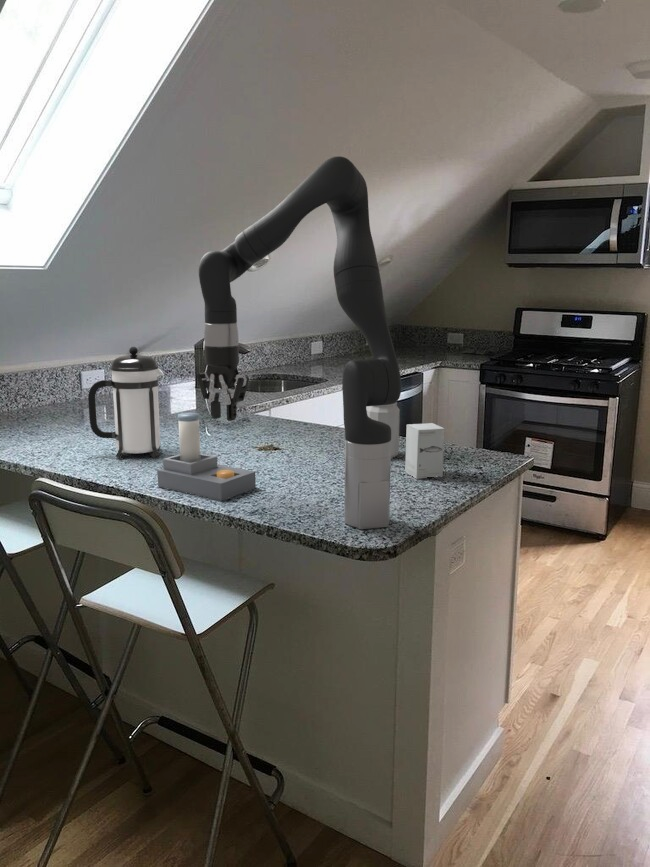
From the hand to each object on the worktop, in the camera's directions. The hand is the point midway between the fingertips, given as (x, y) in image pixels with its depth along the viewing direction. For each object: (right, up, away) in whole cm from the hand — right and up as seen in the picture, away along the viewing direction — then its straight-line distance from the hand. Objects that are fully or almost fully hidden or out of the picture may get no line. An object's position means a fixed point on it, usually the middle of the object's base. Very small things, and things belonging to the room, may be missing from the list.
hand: (223, 418), depth 168 cm
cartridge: (-9, -12, +9) cm, 17 cm away
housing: (-5, -16, +7) cm, 18 cm away
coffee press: (-30, -9, +38) cm, 49 cm away
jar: (+39, -10, +37) cm, 54 cm away
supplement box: (+48, -14, +18) cm, 53 cm away
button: (0, -16, +4) cm, 17 cm away
